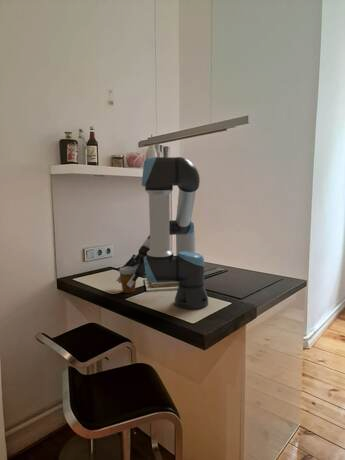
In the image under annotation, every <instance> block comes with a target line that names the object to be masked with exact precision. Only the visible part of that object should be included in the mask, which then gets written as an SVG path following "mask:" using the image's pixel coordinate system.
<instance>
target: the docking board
mask: <svg viewBox="0 0 345 460" xmlns="http://www.w3.org/2000/svg"><path fill="white" fill-rule="evenodd" d="M143 280H144V284H145V292H146V293H147V292H149V293H150V292H163V291H165V292H166V291H177V290H178V282H162V283H150V282H148V280H147V277H144V279H143Z"/></svg>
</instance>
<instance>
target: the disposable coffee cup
mask: <svg viewBox="0 0 345 460" xmlns="http://www.w3.org/2000/svg"><path fill="white" fill-rule="evenodd" d="M136 270H137V267H136V266H134V267H133V266H126V267H123V266H121V267H120V268H119V270H118V272H119V276H120V277H121V283H120V284H121V288H122V292H123V293H127V294H129V293H130V294H131V293H135V291H136V286H137V285H136V282H137V280H136V281H135V282H134V284H133V285H132V287H131V288H130V287H129V286H128V285H127V283H128V282H129V280H130V279H131V277H132V276H133V275H134V274H135V272H136ZM135 275H136V274H135Z"/></svg>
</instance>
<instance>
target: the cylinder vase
mask: <svg viewBox="0 0 345 460" xmlns="http://www.w3.org/2000/svg"><path fill="white" fill-rule="evenodd" d="M175 251H176V252H175V254H176V255H175V256H178V252H183V251H185V252H194V253H196V230H194V232H193V233H192V234H187V235H175Z"/></svg>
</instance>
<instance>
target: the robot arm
mask: <svg viewBox="0 0 345 460" xmlns="http://www.w3.org/2000/svg"><path fill="white" fill-rule="evenodd" d="M142 168H143V170H142V179H141V186H142V187H144V191H145V192H146V193H147V194H148V208H149V209H148V212H149V214H148V215H149V235H148V236H147V238H146V239H145V240H144V242H143V243H142V245H141V246H140V247H139V249H138V254H137V255H135V254H133V255H132V256H131V258H129V260H127V262H126V263H125V264H123V266H122V267H126V266H133V267H136V266H137V267H136V268H137V270H136V272H135V274H136V275H135V274H134V275H133V276H132V277H131V279H130V280H129V282H128V283H127V285H128V286H129V287H130V288H131V287H132V285H133V284H134V282H135V281H136V282H137V280H138V278H139V277H141V278H142V277H143V276H144V274H145V278H147V280H148V282H150V283H162V282H178V290H176V292H175V293H176V294H175V297H174V305H175V306H176V307H178V308H180V309H185V310H199V309H203V308H205V307H208V305H209V297H208V294H207V291H206V288H205V258H204V256H203V255H202V254H201V253H197V252H195V253H194V252H185V251H183V252H178V256H176V255H174V251H173V249H171V244H170V242H171V241H170V239H171V238H170V237H171V236H173V235H175V236H176V235H187V234H192V233H193V232H194V231H195V222H194V220H192V215H193V210H194V209H193V208H194V203H195V199H196V192H197V190H199V187H200V181H201V180H200V179H201V178H200V175H199V171H198V169H197V167H196V166H195V165H194V164H193V162H191V161H190V160H189V159H187V158H185V157H180V156H176V157H174V156H171V157H168V156H167V157H164V156H163V157H160V156H159V157H158V156H157V157H156V156H154V157H147V158H145V159H144V161H143V167H142ZM174 186H177V188H178V197H177V198H178V199H177V206H176V217H175V220H170V194H171V193H172V192H173V191H174V188H173V187H174ZM116 282H118V283H119V284H122V283H121V277H120V275H119V276H118V277H117V279H116Z"/></svg>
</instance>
